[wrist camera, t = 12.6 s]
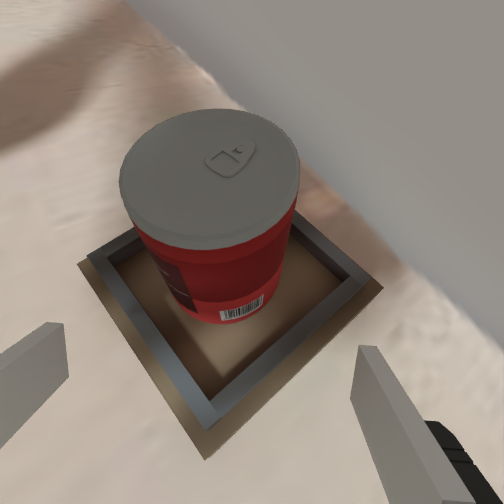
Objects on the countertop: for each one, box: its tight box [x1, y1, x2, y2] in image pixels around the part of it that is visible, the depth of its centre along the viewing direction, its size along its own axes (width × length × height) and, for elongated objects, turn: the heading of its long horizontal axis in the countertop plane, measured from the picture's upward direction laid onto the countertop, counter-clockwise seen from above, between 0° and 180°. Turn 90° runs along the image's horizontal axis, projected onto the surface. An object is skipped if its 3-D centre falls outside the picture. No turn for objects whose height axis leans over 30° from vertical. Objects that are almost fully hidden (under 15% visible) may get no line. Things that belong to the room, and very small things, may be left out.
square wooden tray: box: [77, 210, 384, 460], centre depth 24 cm, size 16×16×6 cm
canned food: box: [119, 109, 300, 324], centre depth 18 cm, size 8×8×11 cm
